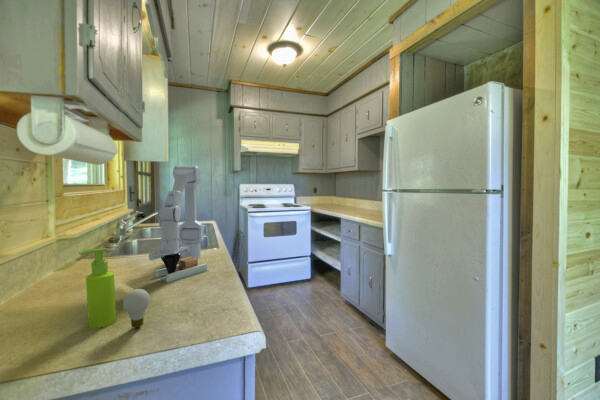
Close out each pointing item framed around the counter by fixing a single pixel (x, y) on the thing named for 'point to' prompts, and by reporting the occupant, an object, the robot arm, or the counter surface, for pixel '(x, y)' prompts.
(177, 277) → the channel
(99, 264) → the soap dispenser
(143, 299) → the light bulb
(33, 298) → the counter surface
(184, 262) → the cube
